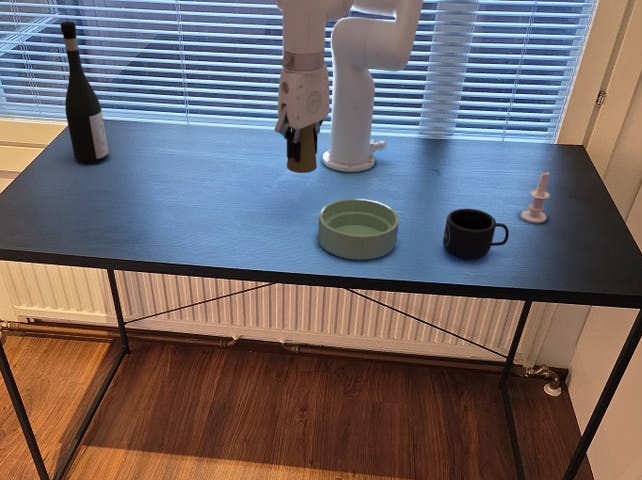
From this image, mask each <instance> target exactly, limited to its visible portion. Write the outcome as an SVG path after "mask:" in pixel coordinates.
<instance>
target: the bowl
mask: <svg viewBox="0 0 642 480" xmlns="http://www.w3.org/2000/svg"><path fill="white" fill-rule="evenodd" d="M399 225H400V216H399V215H398V213H397V212H396V210H394V209H393V208H391V207H390V206H389V205H388V204H384V203H382V202H380V201H376V200H371V199H366V198H345V199H344V198H343V199H339V200H335V201H332V202H330V203H328V204H326V205H325V206H323V208H321V210H320V211H319V215H318V233H317V234H318V235H317V240H318V242H319V244H320V246H321V247H322V248H323V249H324V250H325V251H327V253H330V254H332V255H334V256H336V257H340V258H345V259H348V260H360V261H361V260H362V261H363V260H373V259H378V258H381V257H384V256H386V255H387V254H389V253H391V252H392V251H393V250H394V248H395V247H396V245H397V240H398V232H399Z"/></svg>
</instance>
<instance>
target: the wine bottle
mask: <svg viewBox="0 0 642 480" xmlns="http://www.w3.org/2000/svg"><path fill="white" fill-rule="evenodd" d="M76 27H77V26H76V22H74V21H63V22H61V23H60V30H61V31H60V32H61V33H62V36H63V41H64V46H65V51H66V58H67V63H68V71H69V76H68V83H67V89H66V95H65V104H64V105H65V107H64V108H65V116H66V121H67V128H68V131H69V136H70V141H71V146H72V151H73V156H74V158H75V160H76V161H77V162H79V163H80V164H84V165H95V164H100V163H102V162H104V161H106V160H107V159H108V158H109V146H108V141H107V136H106V128H105V123H104V117H103V110H102V107H101V103H100V100H99V98H98V96H97V94H96V92H95V91H94V89H93V87H92V85H91V83H90V82H89V80H88V78H87V76H86V74H85V72H84V69H83V65H82V61H81V55H80V49H79V43H78V38H77V28H76Z"/></svg>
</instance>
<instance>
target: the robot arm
mask: <svg viewBox="0 0 642 480" xmlns="http://www.w3.org/2000/svg"><path fill="white" fill-rule="evenodd" d="M274 2H275V5H276V7H277V9H278V10H279V11H280V12H281V13H282V59H280V65H281V66H282V69H281V70H280V75H279V82H278V92H277V118H278V119H277V122H276V124H275V127H274V132H276V133H278V134H280V135H281V136H282V137H283V138H284V140H286V158H287V160H288V159H291V158H294V160H295V162H299V161H300V153H301V142H299V141H298V140H299V134H300V129H301V128H304V127H306V126H309V125H311V124H313V123H316V124H315V127H314V129H313V134H314V144H315V153H316V155H317V154H318V138H319V137H318V135H319V134H320V133H321V126H322V124H323V123H324V120H325V119H326V118H327V117H329V115H331V116H330V130H329V131H330V133H329V149H327V150H326V151H325V152H324V153H323V154H322V163H323V164H324V165H325V166H326V167H327V168H329V169H331V170H335V171H339V172H345V173H356V172H363V171H367V170H369V169H371V168H372V167H373V166H374V165H375V163H376V157H375V155H374V154H373V153H376V151H382V150H385V149H386V148H387V143H386V141H385V140H381V141H377V142H376V139H371V136H372V128H373V127H372V126H373V117H374V104H375V96H376V95H375V94H376V86H375V81H374V77H373V76H372V74H371V71H370V69H371V70H378V71H385V72H395V73H397V72H401V71H403V70H404V69H405V68H406V67H407V66H408V63H409V61H410V58H411V55H412V51H413V47H414V43H415V38H416V35H417V31H418V27H419V22H420V17H421V13H422V9H423V4H424V0H274ZM351 9H353V10H354V11H356V12H359V13H364V14H370V15H376V16H377V15H378V16H385V17H394V18H395V19H394V21H391V20H385V19H384V20H383V19H378V18H377V19H376V18H371V17H370V18H369V17H360V16H347V15H348V14H349V12H350V11H351ZM346 16H347V17H346ZM336 21H337V22H336ZM331 22H332V23H333V22H336V23H335V24H334V26H333V28H332V31H331V35H330V51H331V59H332V61H331V62H332V93H331V94H332V96H331V98H330V79H329V78H330V77H329V70H328V66H327V64H326V63H325V51H326V50H325V47H326V24H327V23H331ZM330 99H331V102H330ZM330 103H331V113H330ZM291 128H293V129H294V132H293V133H292V132H291V131H292V129H291Z"/></svg>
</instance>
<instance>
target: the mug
mask: <svg viewBox="0 0 642 480" xmlns="http://www.w3.org/2000/svg"><path fill="white" fill-rule="evenodd" d="M497 227H500V228H503V229H504V231H505V236H504V238H503V240H502V241H496V242H495V241H494V242H493V240H494V235H495V231H496V228H497ZM509 236H510V232H509V228H508V226H507V225H506V224H505V223H501V222H497V221H496V219H495V218H494V217H493V215H491V214H489V213H488V212H485V211H483V210H480V209H475V208H459V209H455V210H452V211H451V212H449V213H448V215H447V216H446V221H445V227H444V232H443V238H442V245H443V248H444V250H445V252H446V253H447V254H449V256H452V257H454V258H457V259H460V260H465V261H476V260H480V259H482V258H484V257H485V256H487V254H488V253H489V251H490V250H491V247H498V246H504V245H505V244H506V243H507V242H508V240H509Z"/></svg>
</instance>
